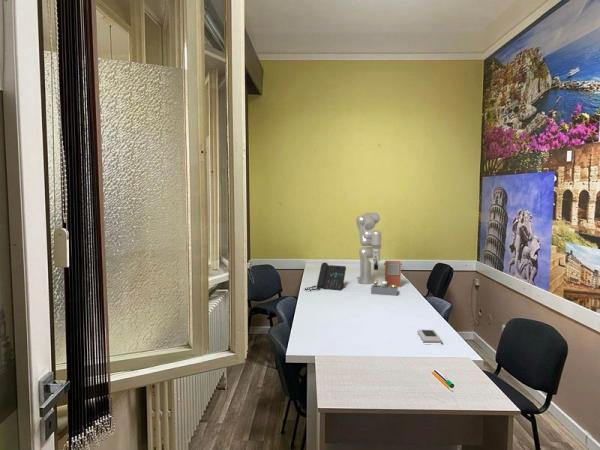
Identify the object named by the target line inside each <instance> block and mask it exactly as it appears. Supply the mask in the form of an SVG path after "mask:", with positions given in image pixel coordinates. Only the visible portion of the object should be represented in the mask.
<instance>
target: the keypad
mask: <svg viewBox="0 0 600 450" xmlns="http://www.w3.org/2000/svg"><path fill="white" fill-rule="evenodd" d="M417 333H418V334H417ZM417 333H416V334H417V336H418V335H419V336H420V338H421V339H420V338H419V339H420V341H421V340H422V341H423V342H422V341H421V342H422V344H423V343H442V344H443V340H442V339H441V337H440V336H439V335H438V333H437V332H436V331H435V329H418V330H417ZM419 336H418V337H419Z"/></svg>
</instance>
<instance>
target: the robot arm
mask: <svg viewBox="0 0 600 450" xmlns="http://www.w3.org/2000/svg"><path fill="white" fill-rule="evenodd" d="M380 219H381V218H380V214H379V213H378V212H365V213H363V215H361V214H360V215H358V216H357V217H356V218H355V221H356V222H355V223H356V226H357V229H358V231H359V232H358V233H359V243H360V244H359V245H361V246H362V247H361V248H360V249H359V251H358V252H359V269H360V270H359V276H357V277H356V280H357V281H358V283H359V284H362V285H371V284H373V281H374V280H372V262H371V261H370V259H372V261H373V270H374V271H378V270H379V262H380V261H381V249H382V232H381V231H380V230H379V229H375V226H376V225H377V224H378V223H379V222H380Z"/></svg>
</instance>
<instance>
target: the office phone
mask: <svg viewBox="0 0 600 450" xmlns="http://www.w3.org/2000/svg"><path fill="white" fill-rule="evenodd" d="M320 265H321V266H320V270H319V274H318V278H317V283H316V285H313V286H311V287H308V288H312V289H310V290H315V291H320V288H323V289H322V290H332V291H342V290H343V287H344V286H345V284H344V281H345V275H346V271H347V267H346V266H345V265H334V264H332V265H331V264H328V262H322V263H321V264H320ZM313 287H314V288H313ZM316 287H317V288H316ZM306 288H307V287H305V288H304V289H305V290H308V289H306ZM316 289H317V290H316ZM305 290H304V291H305Z"/></svg>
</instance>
